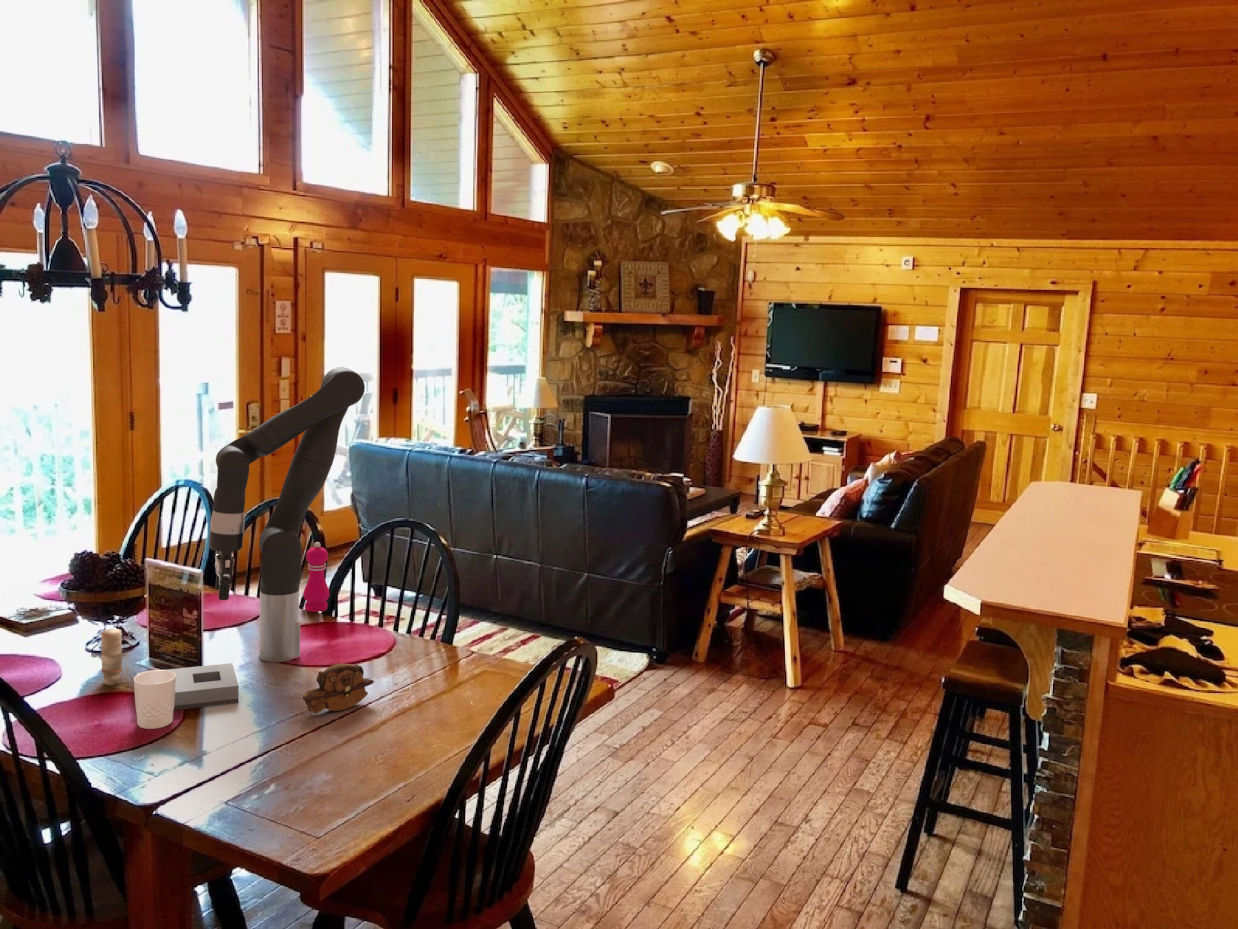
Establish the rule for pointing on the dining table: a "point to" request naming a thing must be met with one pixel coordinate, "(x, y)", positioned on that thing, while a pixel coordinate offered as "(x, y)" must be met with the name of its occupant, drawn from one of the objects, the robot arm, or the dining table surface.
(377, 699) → the dining table surface
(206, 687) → the socket board
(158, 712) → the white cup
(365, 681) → the wooden carving
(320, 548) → the pepper mill
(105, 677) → the birch peg
